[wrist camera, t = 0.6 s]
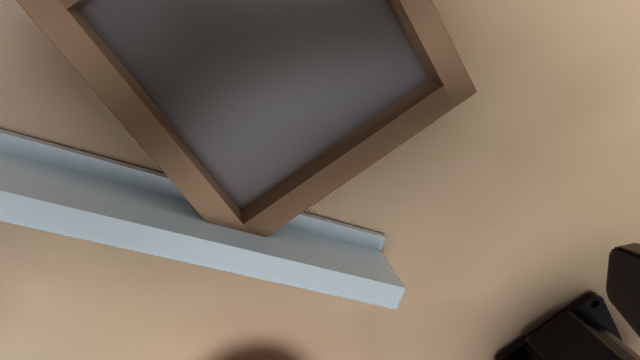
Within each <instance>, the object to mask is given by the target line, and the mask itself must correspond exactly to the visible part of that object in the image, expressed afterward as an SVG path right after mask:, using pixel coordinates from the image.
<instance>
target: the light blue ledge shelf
mask: <svg viewBox="0 0 640 360" xmlns="http://www.w3.org/2000/svg"><path fill="white" fill-rule="evenodd" d="M0 221H2V222H7V223H11V224H16V225H20V226H25V227H29V228H34V229H38V230H43V231H47V232H52V233H56V234H61V235H65V236H70V237H74V238H78V239H83V240H87V241H92V242H96V243H101V244H105V245H110V246H114V247H119V248H123V249H128V250H132V251H137V252H141V253H146V254H150V255H155V256H159V257H163V258H168V259H172V260H177V261H181V262H186V263H190V264H195V265H199V266H204V267H208V268H213V269H217V270H222V271H226V272H231V273H235V274H240V275H244V276H248V277H253V278H257V279H262V280H266V281H271V282H275V283H280V284H284V285H289V286H293V287H298V288H302V289H307V290H311V291H316V292H320V293H325V294H329V295H333V296H338V297H342V298H347V299H351V300H356V301H360V302H365V303H369V304H374V305H378V306H383V307H387V308H392V309H397V307H398V305H399V303H400V301H401V299H402V296H403V294H404V292H405V290H406V287H405V286H404V284H403V283H402V281H401V280H400V278H399V277H398V276H397V274H396V273H395V271H394V270H393V268H392V267H391V266H390V264H389V263H388V261H387V260H386V258H385V257H384V256H383V254H382V253H381V250H382V248H383V245H384V243H385V241H386V239H387V238H386V236H385V235H384V234H382V233H378V232H374V231H371V230H367V229H363V228H360V227H356V226H352V225H349V224H345V223H342V222H338V221H334V220H331V219H327V218H323V217H320V216H316V215H312V214H309V213H305V212H302V213H301V214H299V215H298V216H297V217H295V218H294V219H292V220H291V221H289V222H288V223H286V224H285V225H284V226H282V227H281V228H279V229H278V230H276V231H275V232H273V233H272V234H271V235H269V236H268V237H263V236H259V235H255V234H251V233H247V232H243V231H239V230H235V229H231V228H227V227H223V226H219V225H215V224H211V223H207V222H206V221H205V220H204V219H203V218H202V216H201V215H200V214H199V213H198V212H197V211H196V209H195V208H194V207H193V206H192V205H191V204H190V202H189V201H188V200H187V199H186V198H185V197H184V195H183V194H182V193H181V192H180V191H179V190H178V188H177V187H176V186H175V185H174V184H173V183H172V181H171V180H170V179H169V178H168V177H167V176H166V174H163V173H160V172H156V171H152V170H149V169H145V168H141V167H138V166H134V165H131V164H127V163H123V162H120V161H116V160H112V159H109V158H105V157H101V156H98V155H94V154H91V153H87V152H83V151H80V150H76V149H72V148H69V147H65V146H61V145H58V144H54V143H51V142H47V141H43V140H40V139H36V138H32V137H29V136H25V135H21V134H18V133H14V132H11V131H7V130H3V129H0Z"/></svg>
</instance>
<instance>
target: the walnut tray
mask: <svg viewBox="0 0 640 360" xmlns="http://www.w3.org/2000/svg"><path fill="white" fill-rule="evenodd" d="M16 1H17V2H18V3H19V4H20V6H21V7H22V8H23V9H24V10H25V11H26V13H27V14H28V15H29V16H30V17H31V18H32V20H33V21H34V22H35V23H36V24H37V25H38V27H39V28H40V29H41V30H42V31H43V32H44V33H45V35H46V36H47V37H48V38H49V39H50V40H51V42H52V43H53V44H54V45H55V46H56V47H57V49H58V50H59V51H60V52H61V53H62V54H63V56H64V57H65V58H66V59H67V60H68V61H69V63H70V64H71V65H72V66H73V67H74V68H75V70H76V71H77V72H78V73H79V74H80V75H81V77H82V78H83V79H84V80H85V81H86V82H87V84H88V85H89V86H90V87H91V88H92V89H93V91H94V92H95V93H96V94H97V95H98V96H99V98H100V99H101V100H102V101H103V102H104V103H105V105H106V106H107V107H108V108H109V109H110V110H111V112H112V113H113V114H114V115H115V116H116V117H117V119H118V120H119V121H120V122H121V123H122V124H123V125H124V127H125V128H126V129H127V130H128V131H129V132H130V134H131V135H132V136H133V137H134V138H135V139H136V141H137V142H138V143H139V144H140V145H141V146H142V148H143V149H144V150H145V151H146V152H147V153H148V155H149V156H150V157H151V158H152V159H153V160H154V162H155V163H156V164H157V165H158V166H159V167H160V169H161V170H162V171H163V172H164V173H165V174H166V176H167V177H168V178H169V179H170V180H171V181H172V183H173V184H174V185H175V186H176V187H177V188H178V190H179V191H180V192H181V193H182V194H183V195H184V197H185V198H186V199H187V200H188V201H189V202H190V204H191V205H192V206H193V207H194V208H195V209H196V211H197V212H198V213H199V214H200V215H201V216H202V218H203V219H204V220H205V221H206V222H207V223H211V224H215V225H219V226H223V227H227V228H231V229H235V230H239V231H243V232H247V233H251V234H255V235H259V236H263V237H268V236H269V235H271V234H272V233H273V232H275V231H276V230H278V229H279V228H281V227H282V226H284V225H285V224H286V223H288V222H289V221H291V220H292V219H294V218H295V217H297V216H298V215H299V214H301V213H302V212H304V211H305V210H307V209H308V208H310V207H311V206H312V205H314V204H315V203H317V202H318V201H320V200H321V199H323V198H324V197H325V196H327V195H328V194H330V193H331V192H333V191H334V190H336V189H337V188H339V187H340V186H341V185H343V184H344V183H346V182H347V181H349V180H350V179H352V178H353V177H354V176H356V175H357V174H359V173H360V172H362V171H363V170H365V169H366V168H367V167H369V166H370V165H372V164H373V163H375V162H376V161H378V160H379V159H380V158H382V157H383V156H385V155H386V154H388V153H389V152H391V151H392V150H393V149H395V148H396V147H398V146H399V145H401V144H402V143H404V142H405V141H407V140H408V139H409V138H411V137H412V136H414V135H415V134H417V133H418V132H420V131H421V130H422V129H424V128H425V127H427V126H428V125H430V124H431V123H433V122H434V121H435V120H437V119H438V118H440V117H441V116H443V115H444V114H446V113H447V112H448V111H450V110H451V109H453V108H454V107H456V106H457V105H459V104H460V103H461V102H463V101H464V100H466V99H467V98H469V97H470V96H472V95H473V94H474V93H476V92H477V91H476V89H475V87H474V85H473V83H472V81H471V79H470V77H469V75H468V73H467V71H466V69H465V67H464V65H463V63H462V61H461V59H460V57H459V55H458V53H457V51H456V49H455V47H454V45H453V43H452V41H451V39H450V37H449V35H448V33H447V31H446V29H445V26H444V24H443V22H442V20H441V18H440V16H439V14H438V12H437V10H436V8H435V6H434V4H433V2H432V0H16Z"/></svg>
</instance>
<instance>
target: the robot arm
mask: <svg viewBox="0 0 640 360" xmlns="http://www.w3.org/2000/svg"><path fill="white" fill-rule="evenodd" d="M606 291H607V295H608V298H609V300H610V301H611V303H612V304H613V305H614V307H615V308H616V309H617V310H618V311H619V313H620V314H621V315H622V316H623V318H624V319H625V320H626V321H627V322H628V324H629V325H630V326H631V327H632V329H633V330H634V331H635V332H636V334H637V335H638V336H639V337H640V244H639V243H632V244H627V245H623V246H618V247H615V248H614V249H612V250H611V252H610V254H609V261H608V272H607V282H606ZM495 360H640V356H639V355H638V354H637V353H635V352H634V351H633V350H632V349H631V348H629V347H628V346H627V345H626V344H625V343H623V341H622V339H621V337H620V334H619V332H618V330H617V328H616V326H615V324H614V321H613V319H612V317H611V315H610V313H609V311H608V309H607V306H606V304H605V302H604V300H603V298H602V297H601V296H599V295H598V294H597V293H595V292H589V293H587V294H586V295H584V296H583V297H581V298H580V299H578V300H577V301H575V302H574V303H573V304H571V305H570V306H568V307H567V308H565V309H564V310H562V311H561V312H559V313H558V314H556V315H555V316H553V317H552V318H550V319H549V320H548V321H546V322H545V323H543V324H542V325H540V326H539V327H537V328H536V329H534V330H533V331H531V332H530V333H528V334H527V335H525V336H524V337H523V338H521V339H520V340H518V341H517V342H515V343H514V344H512V345H511V346H509V347H508V348H506V349H505V350H503V351H502V352H501V353H499V354H498V355H497V357H496V359H495Z"/></svg>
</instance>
